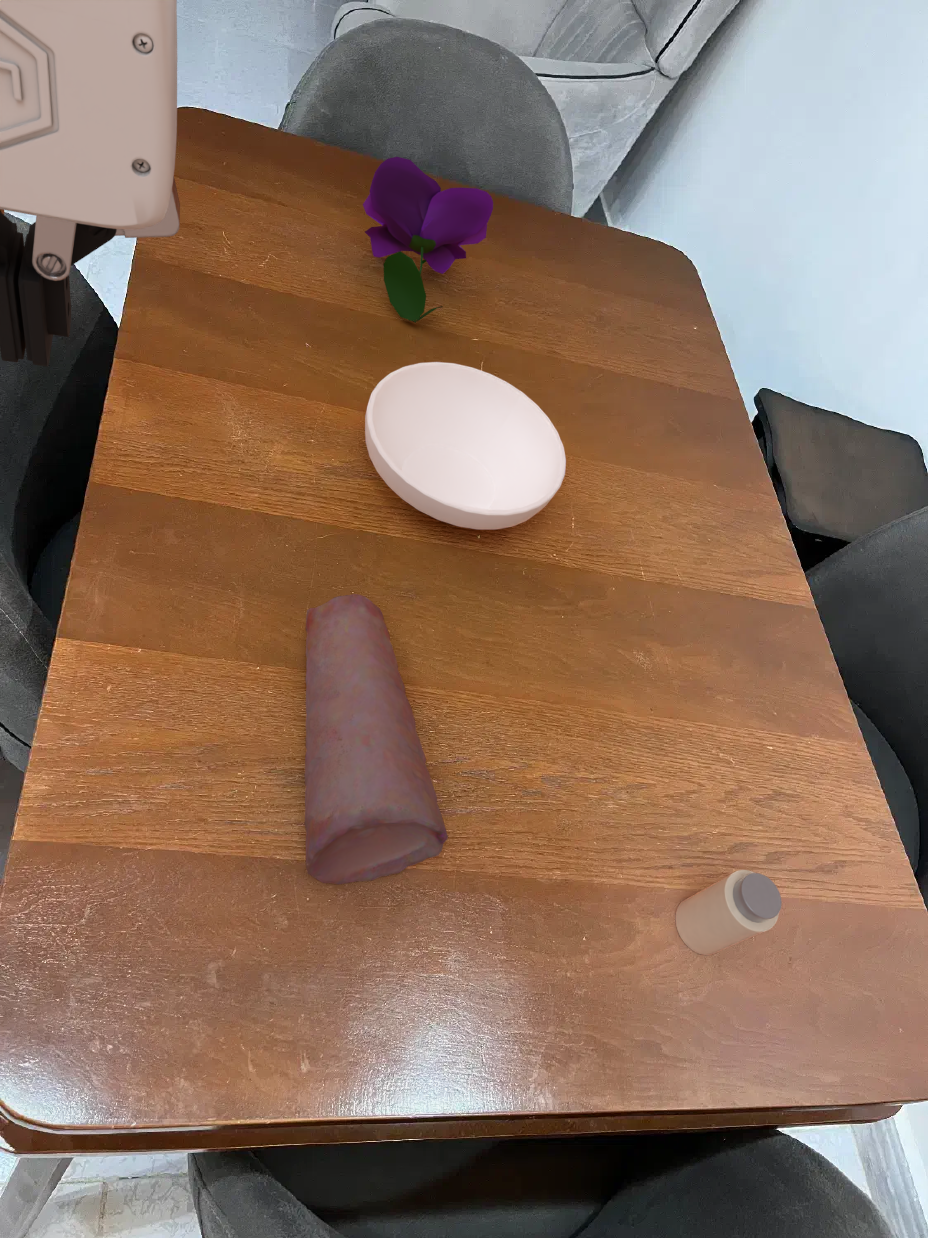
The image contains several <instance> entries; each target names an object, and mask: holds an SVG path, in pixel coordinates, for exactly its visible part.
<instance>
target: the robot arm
mask: <svg viewBox="0 0 928 1238" xmlns="http://www.w3.org/2000/svg"><path fill="white" fill-rule="evenodd" d="M177 9H178V1H177V0H0V357H1V361H2V362H11V363H18V362H19V360H24V359H25V355H26V360H27V361H31V362H32V365H34V366H42V367H49V365H50V358H51V352H52V346H53V338H54V336H59V337H66V338H69V337H70V332H71V324H72V300H71V299H72V297H71V284H70V273H71V268H72V266H73V265H75V264H76V263H78V262H79V261H82V260H83V259H84V258H85V257H87V256H89V255H90V254H91V253H93V252H95V251H96V250H97V249H100V248H101V247H102V246H104V245H105V244H107V243H109V242H110V241H111V240H113V238H115V237H118V236H119V237H121V236H123V237H124V238H125V239H135V238H137V239H139V238H141V239H142V238H169V237H174V236H175V235H177V234H178V232H179V231H180V225H181V223H180V221H181V202H180V197H179V194H178V188H177V184H176V180H175V168H176V155H177V153H176V152H177V137H178V135H177V134H178V10H177ZM5 211H9V212H14V213H19V214H25V215H31V216H36V217H35V222H33V223H31V224H30V225H29V228H28V233H26V235H25V238H24V234H23V232H20V231H18V225H17V223H16V222H12V221H11V220H10V219H9V218H8V217H7V216H6V215H5V214H6V212H5ZM24 239H25V240H24ZM25 353H26V354H25Z"/></svg>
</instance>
